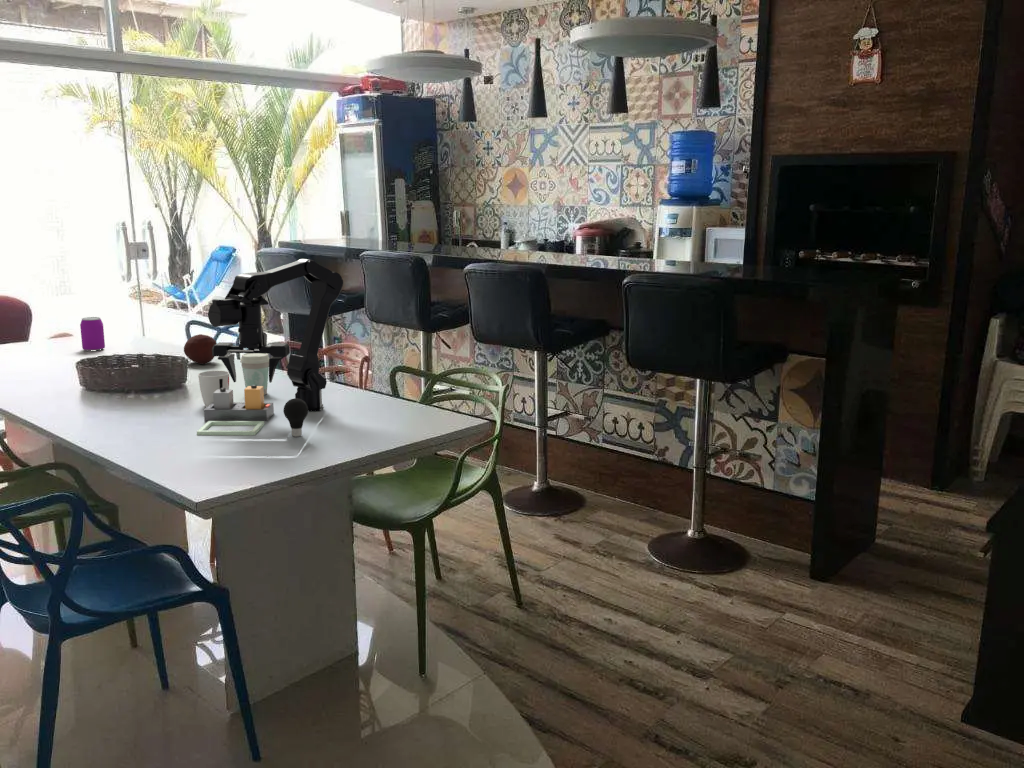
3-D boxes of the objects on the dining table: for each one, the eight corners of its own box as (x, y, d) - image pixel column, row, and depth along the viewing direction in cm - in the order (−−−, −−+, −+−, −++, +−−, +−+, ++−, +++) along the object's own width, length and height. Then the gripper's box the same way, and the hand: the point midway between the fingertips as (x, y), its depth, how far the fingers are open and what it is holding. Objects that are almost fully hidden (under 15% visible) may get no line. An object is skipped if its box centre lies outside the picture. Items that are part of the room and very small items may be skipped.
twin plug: (234, 415, 227) (232, 386, 226) (230, 419, 223) (228, 390, 222) (218, 415, 227) (217, 386, 225) (214, 418, 223) (212, 389, 222)
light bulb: (296, 442, 207) (295, 402, 205) (279, 438, 210) (277, 399, 208) (314, 437, 212) (312, 398, 210) (297, 433, 215) (295, 394, 213)
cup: (221, 413, 233) (219, 377, 231) (194, 411, 235) (192, 375, 233) (236, 406, 241) (234, 371, 239) (210, 404, 243) (208, 369, 240)
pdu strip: (273, 417, 230) (273, 401, 229) (267, 424, 222) (266, 408, 221) (213, 416, 229) (212, 401, 228) (204, 424, 221) (203, 408, 220)
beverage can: (77, 351, 317) (75, 319, 314) (91, 347, 324) (88, 316, 322) (96, 352, 316) (93, 320, 313) (109, 348, 323) (106, 317, 320)
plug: (264, 415, 228) (263, 383, 226) (261, 419, 224) (259, 387, 222) (249, 415, 228) (248, 383, 226) (245, 419, 224) (244, 387, 222)
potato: (209, 358, 307) (207, 330, 305) (225, 364, 298) (223, 335, 296) (178, 362, 300) (176, 333, 298) (193, 368, 291) (192, 338, 288)
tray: (264, 427, 219) (264, 421, 219) (255, 438, 210) (254, 431, 209) (209, 427, 219) (208, 420, 218) (197, 438, 209) (196, 431, 208)
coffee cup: (235, 395, 253) (233, 355, 251) (254, 389, 261) (252, 351, 259) (259, 398, 250) (257, 358, 248) (277, 392, 258) (275, 353, 256)
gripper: (293, 319, 229) (294, 376, 232) (222, 318, 228) (225, 375, 231) (284, 325, 218) (286, 385, 221) (209, 324, 217) (213, 384, 220)
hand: (252, 382), depth 223 cm, fingers open, 9 cm apart
